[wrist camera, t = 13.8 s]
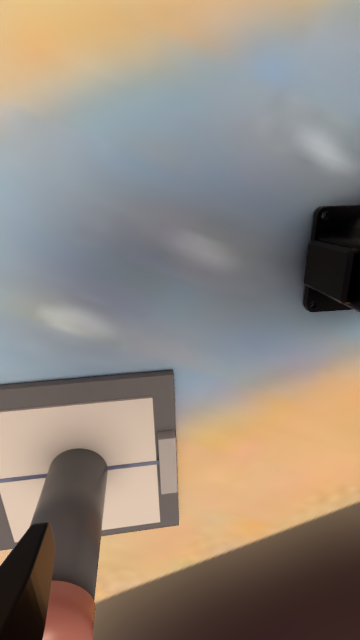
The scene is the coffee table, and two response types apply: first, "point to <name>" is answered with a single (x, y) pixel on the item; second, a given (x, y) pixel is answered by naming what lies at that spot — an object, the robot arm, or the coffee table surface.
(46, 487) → the ball
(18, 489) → the grey framed board
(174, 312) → the coffee table surface
